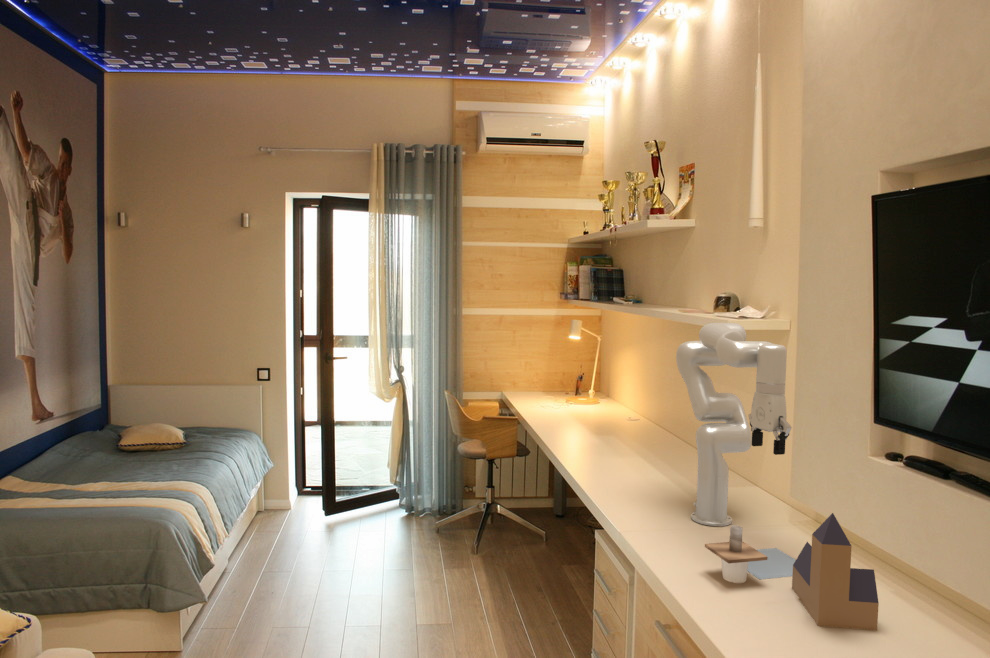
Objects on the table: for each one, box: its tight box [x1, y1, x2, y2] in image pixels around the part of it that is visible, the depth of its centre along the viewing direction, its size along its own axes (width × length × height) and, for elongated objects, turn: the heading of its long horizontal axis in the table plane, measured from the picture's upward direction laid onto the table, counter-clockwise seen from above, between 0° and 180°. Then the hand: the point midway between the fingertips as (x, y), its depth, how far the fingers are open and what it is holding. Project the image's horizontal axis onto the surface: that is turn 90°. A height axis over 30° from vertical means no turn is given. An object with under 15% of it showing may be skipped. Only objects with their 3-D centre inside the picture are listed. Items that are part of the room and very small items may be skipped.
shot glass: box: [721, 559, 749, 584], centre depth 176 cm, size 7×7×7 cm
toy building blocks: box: [791, 512, 879, 631], centre depth 161 cm, size 12×19×25 cm
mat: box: [747, 547, 797, 580], centre depth 187 cm, size 18×18×1 cm
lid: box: [704, 524, 768, 563], centre depth 176 cm, size 11×11×7 cm
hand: (767, 449), depth 190 cm, fingers open, 9 cm apart
